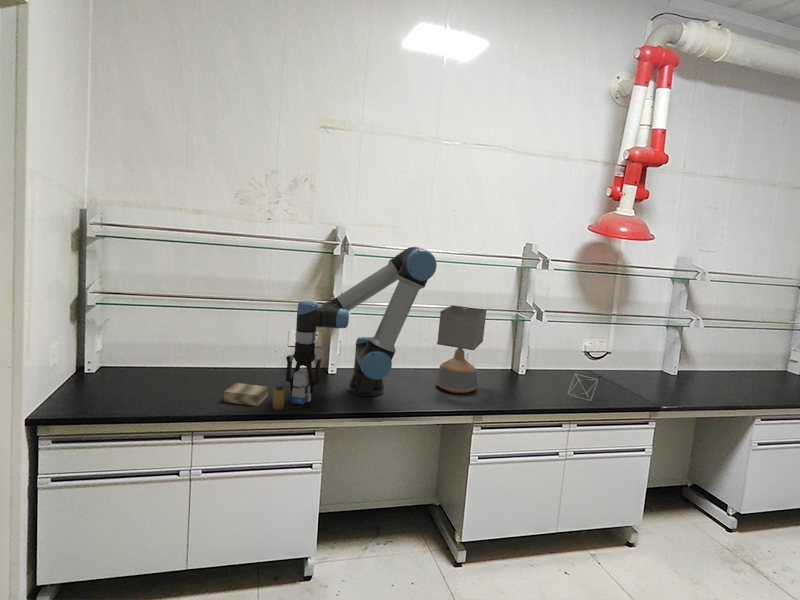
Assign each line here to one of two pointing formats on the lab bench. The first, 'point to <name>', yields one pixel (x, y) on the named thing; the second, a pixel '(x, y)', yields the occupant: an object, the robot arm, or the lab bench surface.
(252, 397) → the beech plinth
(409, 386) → the lab bench surface
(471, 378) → the desk lamp
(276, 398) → the amber bottle
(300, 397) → the ink box
